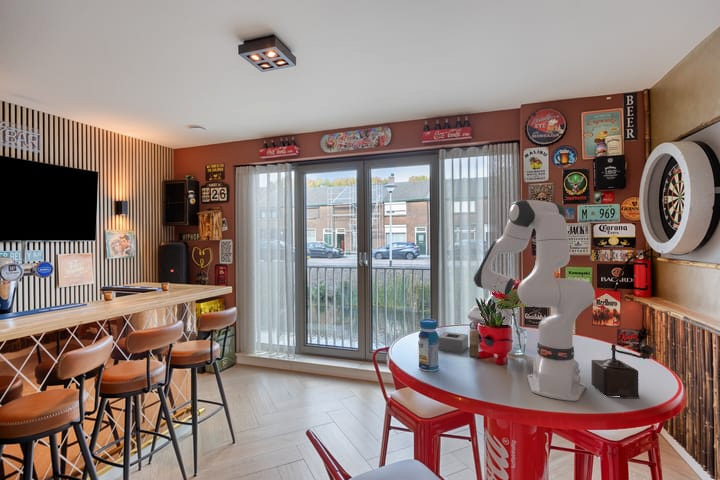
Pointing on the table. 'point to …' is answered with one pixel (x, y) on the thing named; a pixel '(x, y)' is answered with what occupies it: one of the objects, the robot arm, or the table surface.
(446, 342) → the charcoal socket
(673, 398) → the table surface
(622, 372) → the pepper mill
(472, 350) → the walnut peg
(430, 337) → the beverage bottle
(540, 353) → the robot arm
